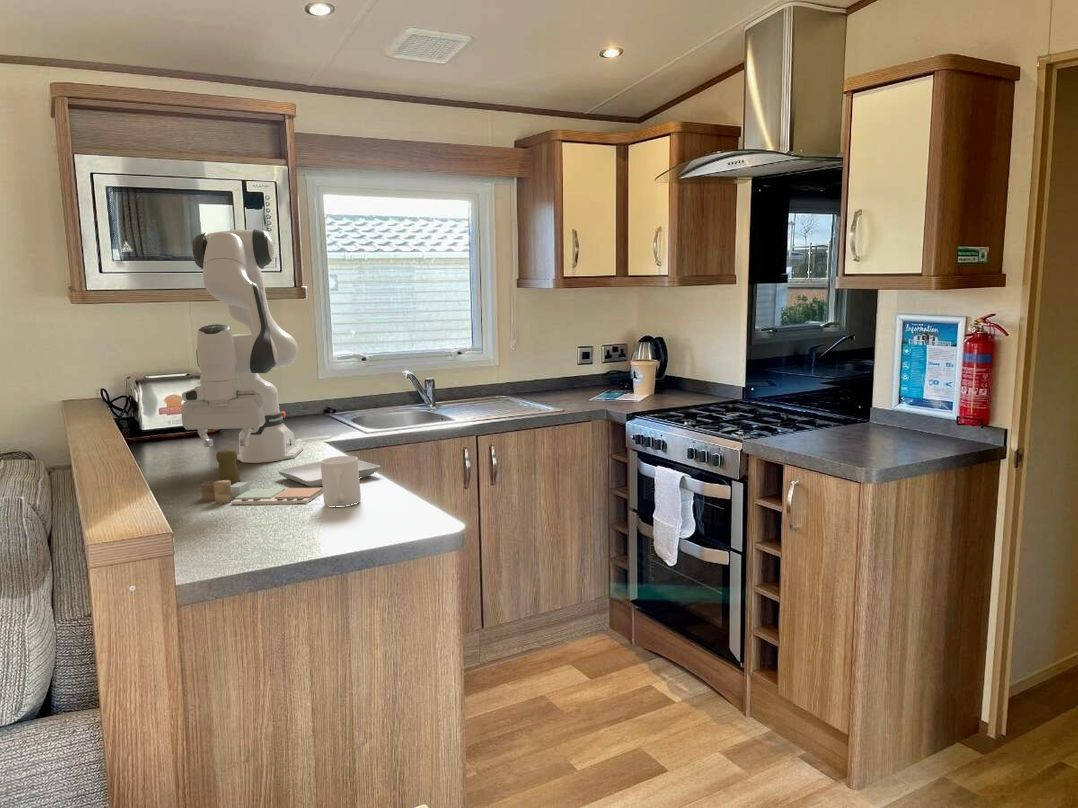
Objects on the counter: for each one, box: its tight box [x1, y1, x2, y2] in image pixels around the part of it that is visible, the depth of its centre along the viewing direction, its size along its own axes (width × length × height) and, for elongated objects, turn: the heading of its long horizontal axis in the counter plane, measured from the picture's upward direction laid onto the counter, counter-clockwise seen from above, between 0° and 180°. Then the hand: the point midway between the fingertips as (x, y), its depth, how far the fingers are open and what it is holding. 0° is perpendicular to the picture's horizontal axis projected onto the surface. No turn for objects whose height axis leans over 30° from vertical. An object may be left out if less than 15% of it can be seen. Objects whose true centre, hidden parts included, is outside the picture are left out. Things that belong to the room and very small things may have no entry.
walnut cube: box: [200, 480, 218, 502], centre depth 202 cm, size 4×4×4 cm
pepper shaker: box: [215, 448, 241, 485], centre depth 208 cm, size 6×6×11 cm
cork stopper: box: [213, 480, 234, 505], centre depth 197 cm, size 4×4×5 cm
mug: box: [320, 455, 362, 507], centre depth 188 cm, size 9×12×11 cm
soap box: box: [231, 481, 250, 499], centre depth 203 cm, size 5×3×3 cm, turn 174°
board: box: [230, 487, 323, 505], centre depth 198 cm, size 11×19×1 cm, turn 84°
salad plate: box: [277, 459, 381, 488], centre depth 218 cm, size 21×21×3 cm
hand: (226, 446), depth 199 cm, fingers open, 8 cm apart
